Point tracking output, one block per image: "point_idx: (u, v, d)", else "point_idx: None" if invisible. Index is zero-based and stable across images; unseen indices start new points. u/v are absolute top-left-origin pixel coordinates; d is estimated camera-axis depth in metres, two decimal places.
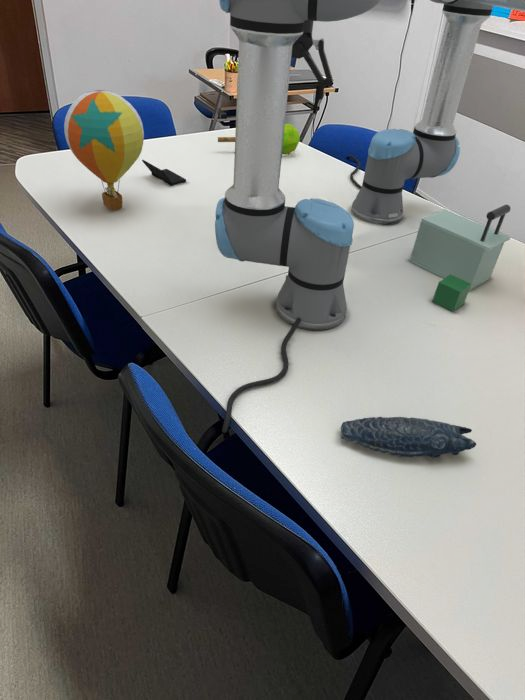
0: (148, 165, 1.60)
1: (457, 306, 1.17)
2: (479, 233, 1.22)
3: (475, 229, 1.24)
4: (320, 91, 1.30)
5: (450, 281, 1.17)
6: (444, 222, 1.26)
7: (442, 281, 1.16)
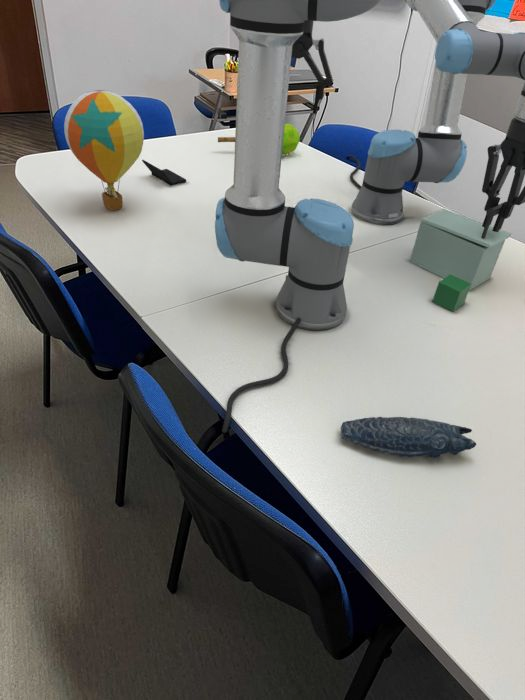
0: (148, 165, 1.60)
1: (457, 306, 1.17)
2: (480, 231, 1.22)
3: (475, 227, 1.24)
4: (320, 91, 1.30)
5: (450, 281, 1.17)
6: (444, 221, 1.26)
7: (442, 281, 1.16)
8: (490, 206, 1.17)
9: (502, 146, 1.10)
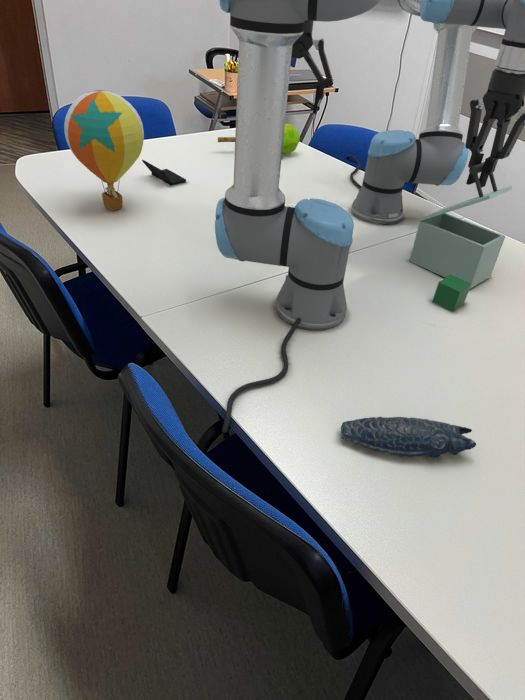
0: (148, 165, 1.60)
1: (457, 306, 1.17)
2: (478, 197, 1.19)
3: (474, 198, 1.21)
4: (320, 91, 1.30)
5: (450, 281, 1.17)
6: (442, 209, 1.25)
7: (442, 281, 1.16)
8: (474, 162, 1.16)
9: (484, 99, 1.09)
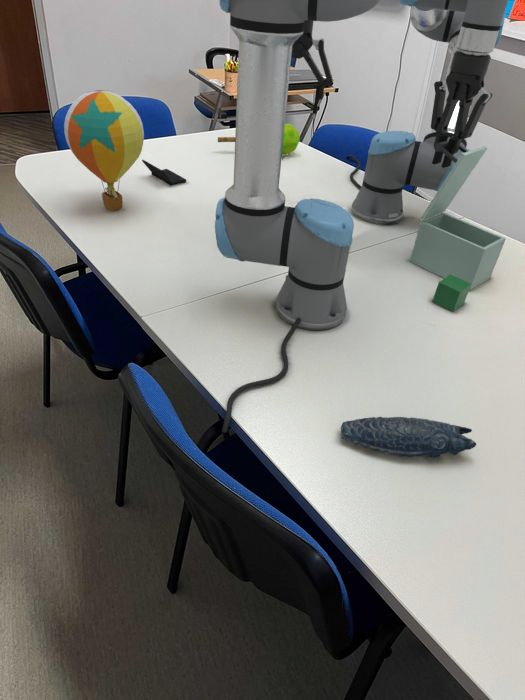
0: (148, 165, 1.60)
1: (457, 306, 1.17)
2: None
3: None
4: (320, 91, 1.30)
5: (450, 281, 1.17)
6: None
7: (442, 281, 1.16)
8: (438, 142, 1.20)
9: (447, 80, 1.13)
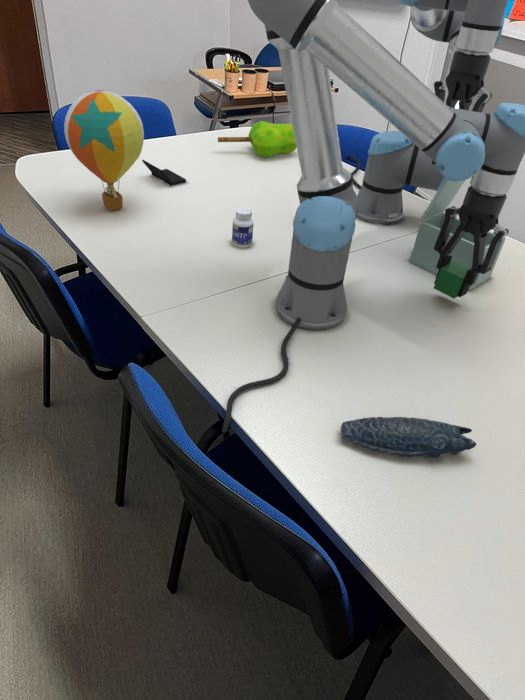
0: (148, 165, 1.60)
1: None
2: None
3: None
4: (471, 277, 1.12)
5: (453, 268, 1.14)
6: None
7: (444, 267, 1.14)
8: None
9: (447, 80, 1.13)
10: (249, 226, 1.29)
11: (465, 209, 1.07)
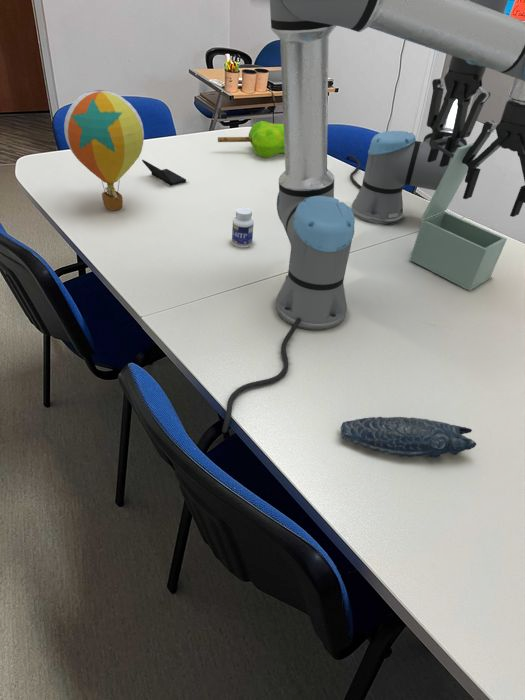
0: (148, 165, 1.60)
1: None
2: None
3: None
4: None
5: None
6: None
7: None
8: None
9: (445, 79, 1.14)
10: (249, 226, 1.29)
11: (504, 126, 1.08)
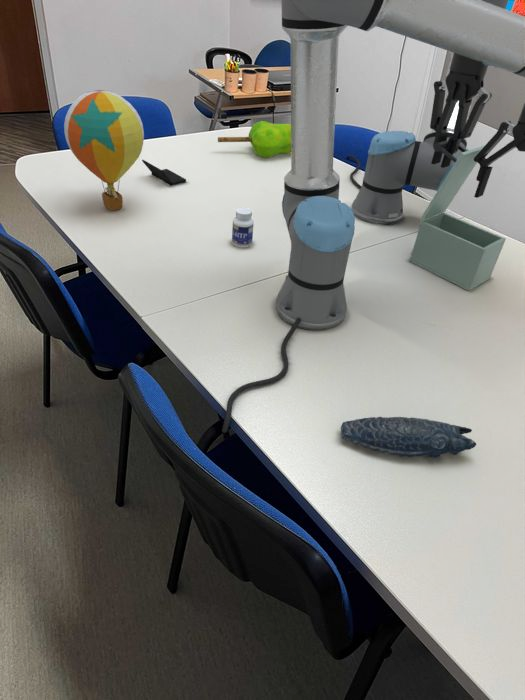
0: (148, 165, 1.60)
1: None
2: None
3: None
4: None
5: None
6: None
7: None
8: None
9: (447, 80, 1.13)
10: (249, 226, 1.29)
11: (521, 129, 1.06)
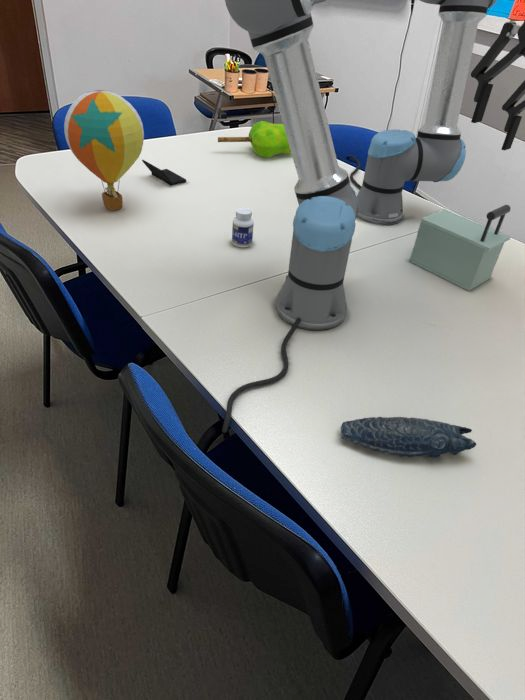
0: (148, 165, 1.60)
1: None
2: (479, 233, 1.22)
3: (475, 229, 1.24)
4: None
5: None
6: (444, 222, 1.26)
7: None
8: (511, 125, 1.07)
9: None
10: (249, 226, 1.29)
11: None
